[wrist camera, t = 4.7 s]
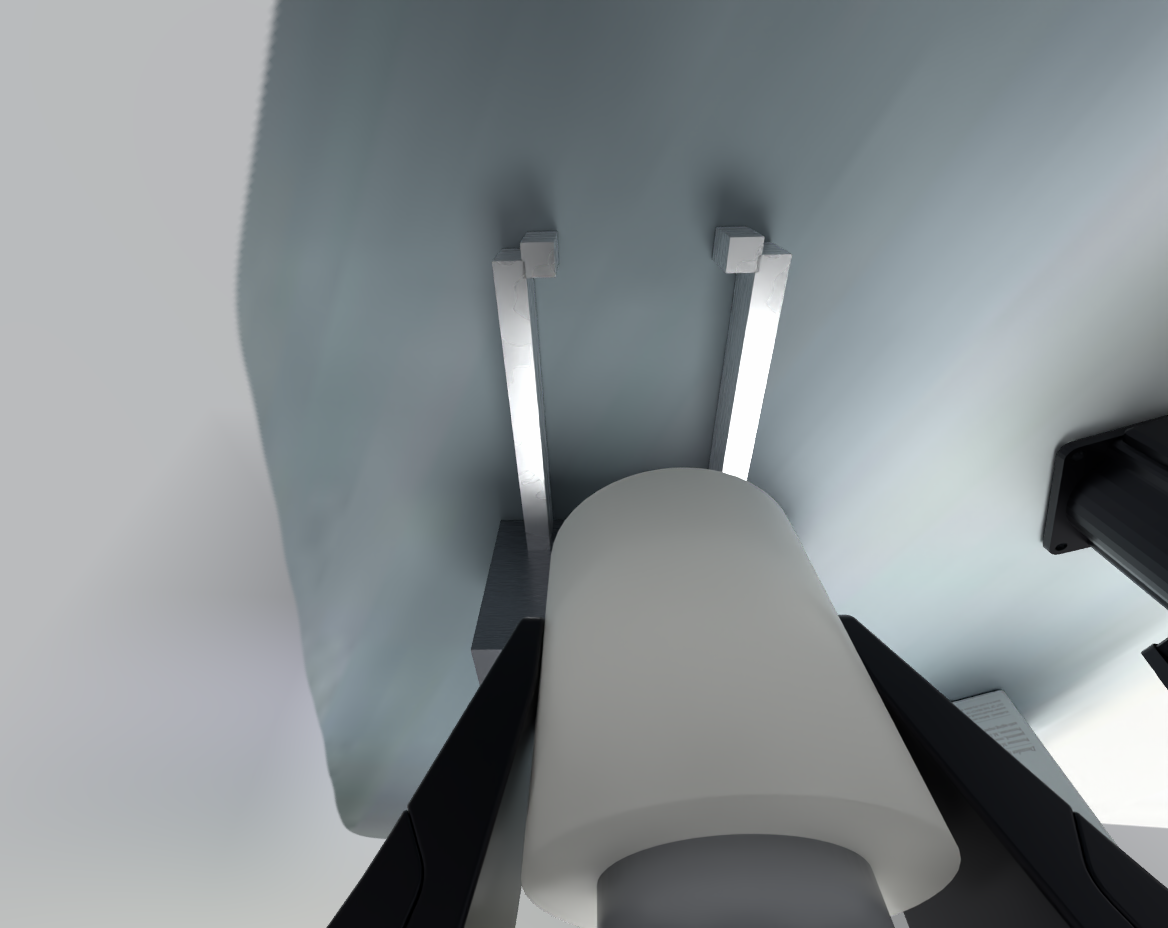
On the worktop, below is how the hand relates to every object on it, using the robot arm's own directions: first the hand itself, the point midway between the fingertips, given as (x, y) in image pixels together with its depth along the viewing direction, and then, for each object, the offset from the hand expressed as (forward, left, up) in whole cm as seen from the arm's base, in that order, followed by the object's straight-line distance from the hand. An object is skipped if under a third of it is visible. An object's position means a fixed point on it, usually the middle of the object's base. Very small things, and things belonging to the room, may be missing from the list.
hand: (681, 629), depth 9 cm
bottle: (0, 0, -2) cm, 2 cm away
